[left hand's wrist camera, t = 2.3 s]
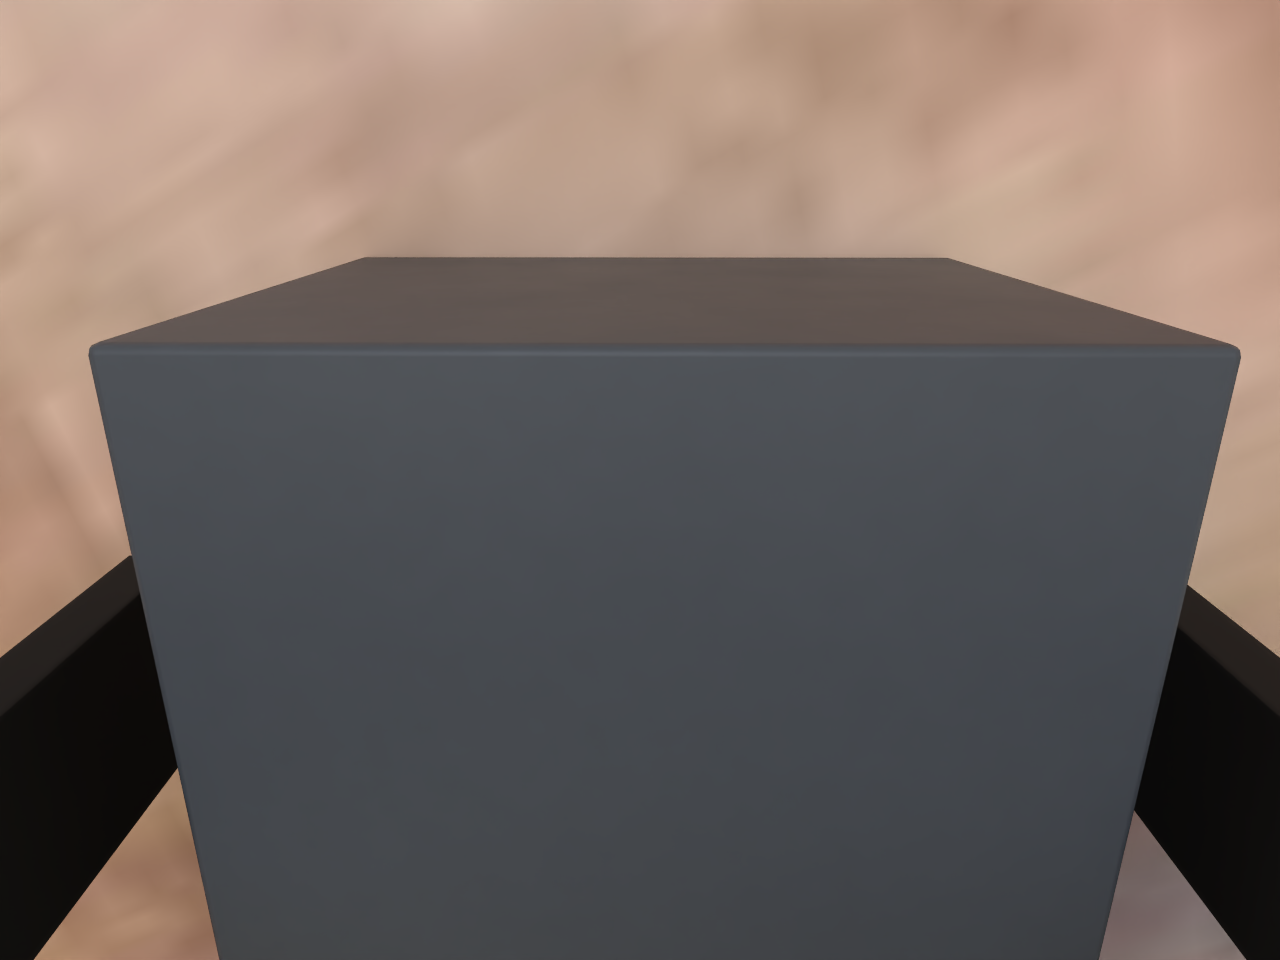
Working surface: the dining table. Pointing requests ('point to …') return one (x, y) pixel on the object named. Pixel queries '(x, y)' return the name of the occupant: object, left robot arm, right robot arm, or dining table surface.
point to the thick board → (661, 602)
